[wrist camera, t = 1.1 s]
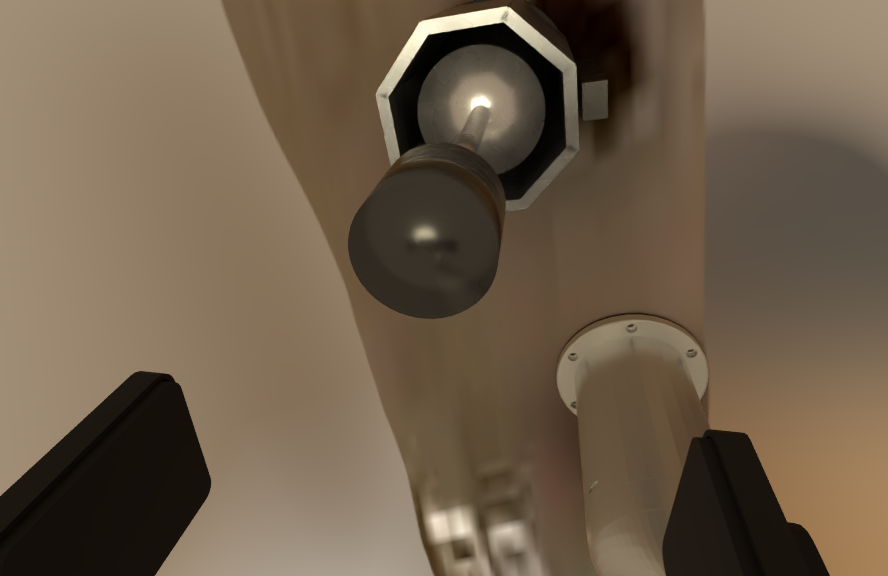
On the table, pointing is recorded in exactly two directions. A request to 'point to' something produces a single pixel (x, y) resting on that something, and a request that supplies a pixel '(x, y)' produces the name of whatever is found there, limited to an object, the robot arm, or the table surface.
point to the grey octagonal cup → (535, 40)
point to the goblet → (449, 186)
